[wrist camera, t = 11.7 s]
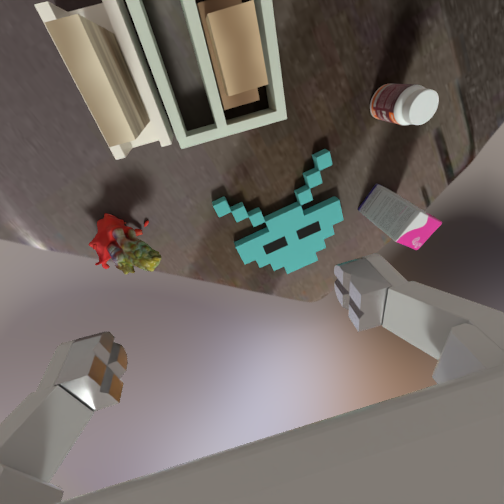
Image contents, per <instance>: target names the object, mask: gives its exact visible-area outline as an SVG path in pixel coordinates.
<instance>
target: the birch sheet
mask: <svg viewBox="0 0 504 504" xmlns="http://www.w3.org/2000/svg"><path fill="white" fill-rule="evenodd" d="M44 23H45V25H46V27H47V29H48V31H49V33H50V35H51V37H52V38H53V40H54V42H55V44H56V46H57V48H58V50H59V52H60V54H61V56H62V58H63V59H64V61H65V63H66V65H67V67H68V69H69V71H70V73H71V75H72V77H73V78H74V80H75V82H76V84H77V86H78V88H79V90H80V92H81V94H82V96H83V98H84V99H85V101H86V103H87V105H88V107H89V109H90V111H91V113H92V115H93V117H94V118H95V120H96V122H97V124H98V126H99V128H100V130H101V132H102V134H103V136H104V138H105V139H106V141H107V143H108V145H109V147H112V146H116V145H119V144H123V143H126V142H130V141H133V140H136V139H137V137H138V136H139V135H140V133H141V132H142V131H143V130H144V128H145V127H146V126H147V124H148V123H149V122H150V119H149V117H148V114H147V112H146V110H145V107H144V105H143V102H142V100H141V97H140V95H139V93H138V90H137V88H136V85H135V83H134V80H133V78H132V76H131V73H130V71H129V68H128V66H127V63H126V61H125V59H124V56H123V54H122V51H121V49H120V47H119V44H118V42H117V39H116V37H115V34H114V33H112V32H110V31H108V30H107V29H105V28H103V27H101V26H99V25H97V24H96V23H94V22H92V21H90V20H88V19H86V18H84V17H83V16H81V15H79V14H75V15H71V16H67V17H63V18H60V19H56V20H52V21H48V22H44Z"/></svg>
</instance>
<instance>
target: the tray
mask: <svg viewBox="0 0 504 504" xmlns="http://www.w3.org/2000/svg"><path fill="white" fill-rule="evenodd" d="M180 1H181V5H182V9H183V12H184V16H185V19H186V23H187V27H188V30H189V34H190V37H191V41H192V44H193V48H194V52H195V55H196V59H197V62H198V66H199V69H200V73H201V77H202V80H203V84H204V87H205V91H206V95H207V98H208V102H209V105H210V109H211V112H212V116H213V120H214V124H211V125H207V126H204V127H200V128H197V129H193V130H190V131H187V130H186V127H185V124H184V121H183V118H182V115H181V112H180V109H179V106H178V104H177V101H176V98H175V95H174V92H173V89H172V86H171V83H170V80H169V77H168V74H167V71H166V69H165V66H164V63H163V60H162V57H161V54H160V51H159V48H158V45H157V42H156V39H155V36H154V33H153V31H152V28H151V25H150V22H149V19H148V16H147V13H146V10H145V7H144V4H143V1H142V0H126V3H127V6H128V8H129V11H130V14H131V17H132V19H133V22H134V25H135V27H136V30H137V33H138V35H139V38H140V41H141V44H142V46H143V49H144V52H145V54H146V57H147V60H148V62H149V65H150V68H151V71H152V73H153V76H154V79H155V81H156V84H157V87H158V89H159V92H160V95H161V98H162V100H163V103H164V106H165V108H166V111H167V114H168V116H169V119H170V122H171V125H172V127H173V130H174V133H175V135H176V138H177V141H179V144H180V147H181V149H183V148H187V147H190V146H194V145H197V144H201V143H204V142H208V141H211V140H215V139H218V138H222V137H225V136H229V135H232V134H236V133H239V132H243V131H246V130H250V129H253V128H257V127H260V126H264V125H267V124H271V123H274V122H278V121H281V120H285V119H287V115H286V107H285V99H284V91H283V83H282V75H281V67H280V59H279V51H278V44H277V36H276V28H275V20H274V12H273V4H272V0H254V4H255V10H256V16H257V22H258V27H259V33H260V39H261V45H262V50H263V56H264V62H265V67H266V73H267V79H268V84H267V85H265V86H266V92H267V98H268V105H269V108H267V109H264V110H260V111H257V112H253V113H249V114H246V115H242V116H239V117H235V118H232V119H228V120H225V116H224V112H223V108H222V105H221V101H220V97H219V93H218V89H217V85H216V81H215V77H214V73H213V69H212V65H211V61H210V57H209V54H208V50H207V46H206V42H205V38H204V34H203V30H202V26H201V22H200V18H199V14H198V10H197V6H196V3H195V0H180Z"/></svg>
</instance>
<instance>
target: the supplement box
mask: <svg viewBox="0 0 504 504" xmlns="http://www.w3.org/2000/svg"><path fill="white" fill-rule="evenodd" d="M358 210H359V211H360V212H361V213H362V214H363V215H364V216H366V217H367V218H368V219H369V220H370V221H372V222H373V223H374V224H375V225H376V226H377V227H379V228H380V229H381V230H382V231H383V232H385V233H386V234H387V235H388V236H389V237H391V238H392V239H393V240H394V241H396V242H398V243H400V244H403V245H405V246H408V247H410V248H413V249H416V250H418V249H419V248H420V247H421V246H422V245H423V243H424V242H425V241H426V240H427V239H428V238H429V237H430V236H431V234H432V233H433V232H434V231H435V230H436V229H437V228H438V227H439V226H440V225H441V224H442V222H441V221H440V220H438V219H436V218H435V217H433V216H432V215H430V214H428V213H427V212H425V211H423V210H422V209H420V208H419V207H417V206H415V205H414V204H412V203H411V202H409V201H407V200H406V199H404V198H403V197H401V196H399V195H398V194H396V193H395V192H393V191H391V190H389V189H387V188H385V187H383V186H382V185H379V184H377V183H376V184H375V185H374V187H373V188H372V189H371V191H370V192H369V194H368V195H367V197H366V198H365V200H364V201H363V202H362V204H361V205H360V206H359V208H358Z"/></svg>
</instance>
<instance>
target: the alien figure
mask: <svg viewBox="0 0 504 504" xmlns="http://www.w3.org/2000/svg"><path fill="white" fill-rule="evenodd" d="M312 157H313V161H314V165H315V168H313V169H311V170H308V171H306V172H304V173H303V176H304V180H305V183H306V185H305V186H303V187H300V188H298V189H296V190H294V192H295V195H296V198H297V202H295V203H293V204H291V205H288V206H286V207H284V208H282V209H280V210H278V211H275V212H273V213H271V214H269V215H267V216H265V217H263V215H262V213H261V211H260V209H259V207H257V208H255V209H253V210H251V211H249V212H247V211H246V209H245V207H244V205H243V203H242V202H240V203H238V204H236V205H234V206H232V207H230V206H229V204H228V202H227V200H226V198H225V196H223V197H221V198H219V199H217V200H215V201H213V202H212V203H213V207H214V209H215V211H216V213H217V214H218V216H219V217H221V216H223V215H226V214H228V213H230V212H232V214H233V216H234V218H235V220H236V222H239V221H241V220H243V219H245V218H248V217H249V218H250V220H251V223H252V225H253V227H255V226H257V225H260V224H262V223H264V222H265V223H266V225H267V227H266V228H264V229H262V230H259V231H257V232H255V233H253V234H251V235H249V236H246V237H244V238H242V239H240V240H238V241H235V242H234V243H235V247H236V249H237V251H238V253H239V254H240V256H241V258H242V260H243V262H244V264H247V263H249V262H252V261H254V260H256V261H257V263H258V265H259V267H263V266H265V265H267V264H269V263H271V266H272V268H273V270H274V271H275V270H277V269H279V268H282V267H284V268H285V270H286V272H287V274H288V273H291V272H293V271H295V270H297V269H300V268H302V267H304V266H306V265H309V264H311V263H313V262H316V261H318V259H317V256H316V252H318V251H320V250H322V249H324V248H326V246H325V242H324V239H325V238H327V237H330V236H332V235H334V230H333V226H332V225H334V224H336V223H338V222H341V221H343V215H342V210H341V205H340V200H339V199H338V198H337V197H335V196H333V197H331V198H329V199H327V200H325V201H323V202H320V203H318V204H316V205H314V206H312V207H310V208H307V209H305V210H302V207H301V205H303V204H305V203H308V202H310V201H312V200H313V198H312V194H311V191H310V188H313V187H315V186H317V185H319V184H321V183H322V179H321V175H320V170H322V169H324V168H327V167H329V166H331V165H332V161H331V156H330V151H328V150H326V149H323V150H321V151H319V152H317V153H315V154H313V155H312Z"/></svg>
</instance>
